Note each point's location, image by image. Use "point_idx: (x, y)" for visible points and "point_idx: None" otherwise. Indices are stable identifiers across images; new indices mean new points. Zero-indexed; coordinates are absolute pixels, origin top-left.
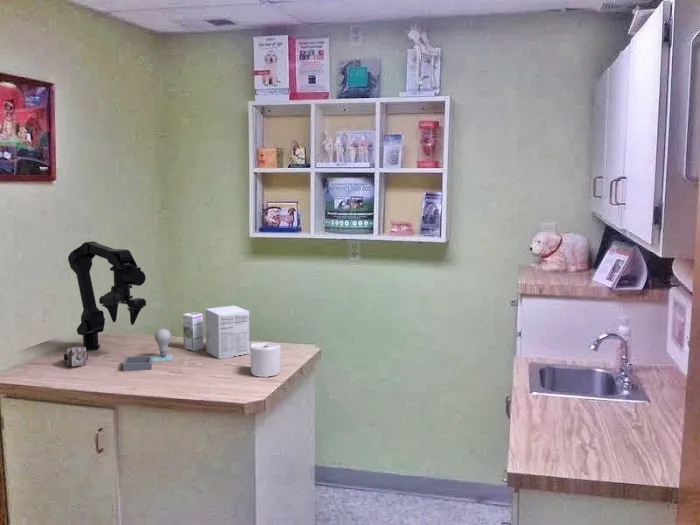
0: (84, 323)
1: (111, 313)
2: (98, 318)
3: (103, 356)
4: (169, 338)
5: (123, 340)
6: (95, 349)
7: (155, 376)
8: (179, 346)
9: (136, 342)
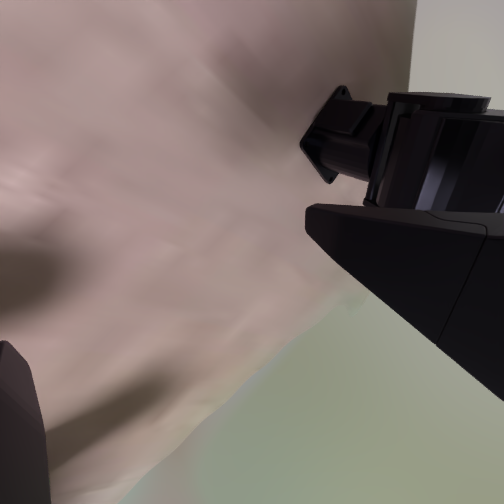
0: (465, 97)
1: (413, 225)
2: (441, 190)
3: (194, 80)
4: None
5: (309, 270)
6: (306, 133)
7: None
8: (94, 422)
9: (264, 296)
